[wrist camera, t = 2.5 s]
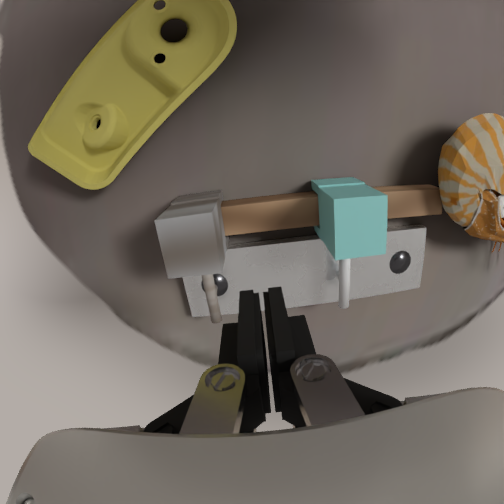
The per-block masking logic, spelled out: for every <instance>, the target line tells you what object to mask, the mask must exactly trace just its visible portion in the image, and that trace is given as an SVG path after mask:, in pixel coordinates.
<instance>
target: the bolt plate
mask: <svg viewBox="0 0 504 504" xmlns="http://www.w3.org/2000/svg"><path fill="white" fill-rule="evenodd" d="M425 240H426V227H425V226H423V225H421V224H418V225H408V226H398V227H388V228H387V241H386V254H382V255H374V256H366V257H359V258H351V259H350V290H349V300H350V299H357V298H363V297H369V296H375V295H381V294H387V293H393V292H398V291H404V290H409V289H415V288H420V282H421V275H422V267H423V259H424V250H425ZM338 270H339V260H335V259H334V258H333V256H332V255H331V253H330V251H329V250H328V248H327V247H326V245H325V244H324V242H323V241H321V239H320V238H319V236H318V235H311V236H302V237H293V238H284V239H275V240H266V241H257V242H248V243H240V244H231V245H228V249H227V251H226V256H225V261H224V266H223V271H222V273H220V274H213V277H214V282H215V285H217V287H218V289H217V298H218V303H219V307H220V312H221V315H224V314H235V313H239V293H240V291H245V290H253V292H254V293H259V298H260V306H261V311H265V308H264V297H263V292H268V288H272V287H280V286H281V288H282V292H283V297H284V301H285V306H286V308H292V307H300V306H307V305H315V304H322V303H330V302H337V301H339V280H338V278H337V276H336V274H335V273H336V271H338ZM183 282H184V286H185V290H186V294H187V298H188V302H189V306H190V310H191V313H192V317H200V316H210V312H209V308H208V304H207V299H206V295H205V290H204V285H203V281H202V276H201V275H200V276H191V277H183Z"/></svg>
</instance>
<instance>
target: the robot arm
mask: <svg viewBox="0 0 504 504" xmlns="http://www.w3.org/2000/svg"><path fill="white" fill-rule="evenodd" d="M263 297H264V308H265V318H266V328H267V339H268V349H269V359H270V367H271V376H272V384H273V393H274V401H275V411H276V412H282V420H286V421H287V422H289V423H291V424H293V429H285V430H275V431H265V432H256V428H257V427H258V426H259V425H260V424H261V423H262V422H264V421H266V417H265V413H271V408H270V395H269V382H268V370H267V358H266V347H265V339H264V331H263V323H262V314H261V306H260V298H259V293H254V292H253V290H245V291H240V293H239V315H238V323H228V324H223V328H222V337H221V345H220V354H219V362H218V365H215V366H212V367H211V368H209V369H207V370H206V371H205V372H204V373H203V374H202V376H201V378H200V380H199V383H198V386H197V388H196V391H195V394H194V395H192V396H191V397H190V398H188V399H186V400H185V401H183V402H182V403H180V404H179V405H177V406H176V407H174V408H173V409H171V410H169V411H168V412H166V413H165V414H163V415H161V416H160V417H159V418H157V419H155V420H154V421H152V422H151V423H149V424H148V425H147V426H146V427H145V428H141V427H140V426H139V425H138V426H129V427H119V428H104V429H100V428H71V429H64V430H58V431H55V432H51V433H49V434H46V435H45V436H43V437H42V438H41V439H39V440H38V442H37V443H36V444H35V445H34V447H33V448H32V450H31V451H30V453H29V454H28V456H27V458H26V460H25V461H24V463H23V465H22V467H21V469H20V471H19V473H18V475H17V478H16V480H15V482H14V484H13V487H12V489H11V492H10V495H9V497H8V500H7V503H6V504H504V391H503V390H500V389H497V388H490V387H479V388H467V389H461V390H456V391H452V392H448V393H441V394H435V395H427V396H419V397H409V398H405V401H399V400H397V399H395V398H394V397H392V396H389V395H386V394H383V393H381V392H378V391H376V390H373V389H370V388H368V387H365V386H362V385H360V384H357V383H355V382H353V381H350V380H348V379H345V378H343V376H342V375H341V373H340V371H339V370H338V368H337V366H336V365H335V363H334V362H333V361H332V360H331V359H330V358H328V357H327V356H323V355H320V354H316V352H315V349H314V345H313V342H312V338H311V335H310V332H309V328H308V325H307V322H306V318H305V316H304V315H300V316H292V317H288V315H287V311H286V306H285V301H284V297H283V292H282V288H281V286H280V287H272V288H268V292H263Z"/></svg>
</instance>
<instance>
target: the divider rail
mask: <svg viewBox="0 0 504 504" xmlns="http://www.w3.org/2000/svg"><path fill="white" fill-rule="evenodd" d="M372 188H374V189H376V190H378V191H380V192H382V193H384V194H386V195H388V207H387V219H390V218H402V217H413V216H425V215H437V214H442V200H441V196H440V190H439V188H438V187H436V186H433V185H430V184H427V185H400V186H380V187H372ZM222 200H223V194H222V190H217V191H210V192H203V193H196V194H189V195H183V196H178V197H177V198H176V199H175V200H174V201H173V202H172V203H171V206H169V207H168V208H167V209H166V210H165V211H164V212H163V213H162V214H161V215H160V216H159V217H158V218H157V219H156V220H155V225H156V230H157V234H158V239H159V243H160V247H161V252H162V256H163V260H164V264H165V268H166V272H167V276H168V279H170V278H180V277H191V276H200V275H201V276H202V281H203V285H204V290H205V295H206V299H207V304H208V308H209V312H210V317H211V321H212V323H220V322H221V321H222V317H221V312H220V307H219V303H218V298H217V289H218V287H217V285H215V282H214V277H213V274H220V273H222V271H223V266H224V261H225V256H226V251H227V249H228V243H229V235H236V234H245V233H254V232H263V231H272V230H281V229H290V228H299V227H309V226H318V225H320V224H319V205H318V194H317V193H316V192H315V191H311V192H300V193H290V194H280V195H270V196H261V197H253V198H244V199H236V200H228V201H222Z"/></svg>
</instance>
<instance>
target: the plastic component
mask: <svg viewBox="0 0 504 504" xmlns="http://www.w3.org/2000/svg"><path fill="white" fill-rule="evenodd" d="M157 1H159V0H138V1H137V2H136V3H135V4H134V5H133V6H131V7H130V8H129V9H128V10H127V11H126V12H125V13H124V14H123V16H122V17H121V18H120V19H119V20H118V21H117V22H116V23H115V24H114V25H113V26H112V27H111V28H110V29H109V30H108V32H107V33H106V34H105V35H104V36H103V37H102V38H101V39H100V41H99V42H98V43H97V44H96V45H95V47H94V48H93V49H92V50H91V51H90V53H89V54H88V55H87V56H86V58H85V59H84V60H83V61H82V63H81V64H80V65H79V67H78V68H77V69H76V71H75V72H74V73H73V75H72V76H71V77H70V79H69V80H68V82H67V83H66V84H65V86H64V87H63V89H62V90H61V92H60V93H59V95H58V96H57V98H56V99H55V101H54V102H53V104H52V106H51V107H50V109H49V110H48V112H47V114H46V115H45V117H44V118H43V120H42V122H41V123H40V125H39V127H38V128H37V130H36V132H35V134H34V135H33V137H32V139H31V141H30V143H29V144H28V150H29V152H30V153H31V154H32V155H33V156H34V157H36V158H37V159H39V160H40V161H42V162H43V163H45V164H46V165H48V166H49V167H51V168H52V169H54V170H55V171H57V172H59V173H60V174H62V175H63V176H65V177H66V178H68V179H69V180H71V181H72V182H74V183H76V184H77V185H79V186H80V187H83V188H85V189H91V190H94V189H101V188H104V187H106V186H107V185H109V184H110V183H111V182H113V180H114V179H115V178H116V176H117V175H118V174H119V173H120V171H121V170H122V169H123V168H124V166H125V165H126V164H127V163H128V162H129V160H130V159H131V158H132V157H133V156H134V154H135V153H136V152H137V151H138V150H139V149H140V147H141V146H142V145H143V144H144V143H145V142H146V141H147V139H148V138H149V137H150V136H151V135H152V134H153V133H154V132H155V130H156V129H157V128H158V127H159V126H160V125H161V124H162V123H163V122H164V121H165V120H166V119H167V118H168V117H169V116H170V115H171V113H172V112H173V111H174V110H175V109H176V108H177V107H178V106H179V105H180V104H181V103H182V102H183V101H184V100H185V99H186V98H187V97H188V96H189V95H191V94H192V93H193V92H194V91H195V90H196V89H197V88H198V87H199V86H200V85H201V84H202V83H203V82H204V81H205V80H206V79H207V78H208V77H209V76H210V75H211V74H212V73H213V72H214V71H215V70H216V69H217V67H218V66H219V65H220V64H221V63H222V62H223V61H224V59H225V58H226V56H227V55H228V53H229V52H230V50H231V48H232V46H233V44H234V41H235V38H236V33H237V20H236V15H235V12H234V9H233V7H232V5H231V3H230V2H229V0H163V1H164V2H165V3H166V5H165V7H164V8H163V9H161V10H156V9H155V8H154V4H155V3H156V2H157ZM171 19H180V20H182V21H184V22H185V23H186V25H187V28H188V31H187V34H186V36H185V37H184V38H183V39H182V40H180V41H178V42H168V41H166V40H164V39H163V37H162V35H161V28H162V26H163V25H164V24H165V22H167V21H169V20H171ZM158 53H162V54H164V55H165V57H166V59H165V61H164V62H162V63H156V62H155V61H154V57H155V55H156V54H158ZM100 119H101V124H100V126H99V128H98V129H97V128H96V126H97V122H98V121H99V120H100Z"/></svg>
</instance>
